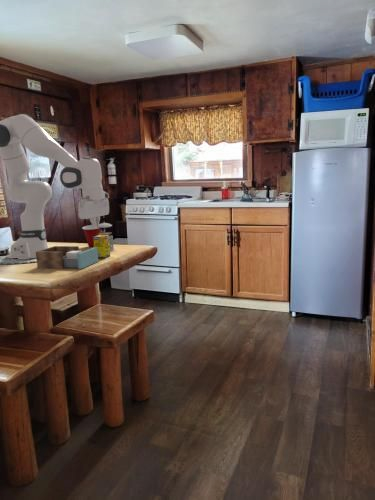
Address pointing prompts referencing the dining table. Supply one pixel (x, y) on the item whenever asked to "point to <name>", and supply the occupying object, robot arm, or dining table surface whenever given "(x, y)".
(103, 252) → the yellow cylinder
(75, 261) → the tray
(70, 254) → the block
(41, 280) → the dining table surface
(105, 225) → the french press
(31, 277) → the dining table surface
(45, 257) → the brown wooden crate
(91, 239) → the plastic cup
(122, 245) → the dining table surface
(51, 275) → the dining table surface
